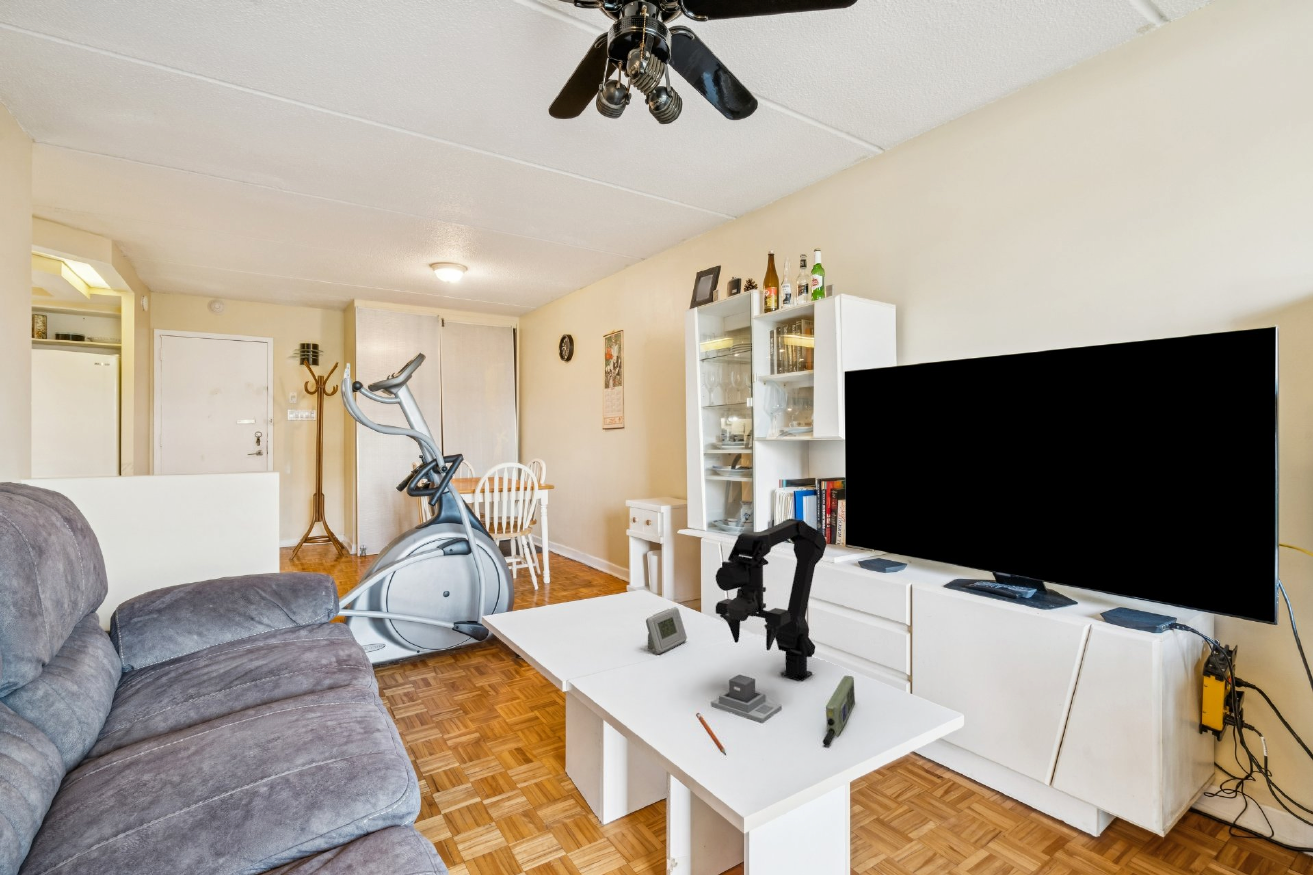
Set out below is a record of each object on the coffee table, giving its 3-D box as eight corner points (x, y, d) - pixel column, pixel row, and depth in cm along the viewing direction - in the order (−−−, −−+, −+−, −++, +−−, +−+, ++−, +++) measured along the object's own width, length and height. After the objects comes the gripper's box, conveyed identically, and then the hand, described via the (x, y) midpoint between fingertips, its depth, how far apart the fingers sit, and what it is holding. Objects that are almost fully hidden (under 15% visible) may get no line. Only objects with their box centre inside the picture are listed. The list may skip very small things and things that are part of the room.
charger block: (739, 696, 148) (739, 674, 148) (755, 701, 146) (755, 678, 146) (729, 703, 145) (728, 679, 145) (745, 708, 142) (745, 684, 142)
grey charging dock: (731, 693, 153) (731, 682, 153) (781, 709, 144) (781, 697, 144) (711, 705, 146) (711, 694, 146) (762, 723, 137) (762, 710, 137)
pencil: (699, 716, 141) (699, 712, 141) (728, 756, 123) (728, 752, 123) (696, 716, 141) (696, 712, 141) (724, 757, 123) (724, 753, 123)
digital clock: (656, 656, 179) (656, 620, 179) (636, 649, 186) (636, 614, 186) (694, 644, 190) (694, 610, 190) (674, 637, 197) (674, 604, 197)
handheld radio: (857, 704, 147) (834, 750, 125) (843, 702, 148) (818, 747, 126) (855, 676, 147) (833, 717, 125) (841, 674, 149) (817, 715, 127)
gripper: (702, 584, 153) (703, 646, 152) (768, 596, 141) (769, 663, 141) (727, 576, 161) (727, 635, 161) (791, 587, 149) (791, 650, 149)
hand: (752, 646), depth 153 cm, fingers open, 9 cm apart
